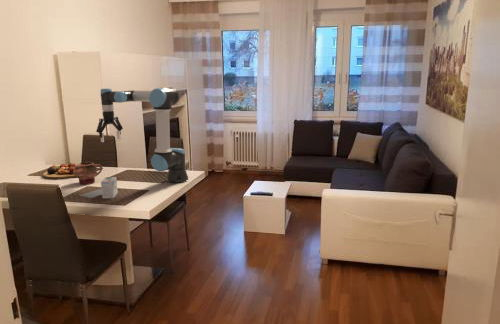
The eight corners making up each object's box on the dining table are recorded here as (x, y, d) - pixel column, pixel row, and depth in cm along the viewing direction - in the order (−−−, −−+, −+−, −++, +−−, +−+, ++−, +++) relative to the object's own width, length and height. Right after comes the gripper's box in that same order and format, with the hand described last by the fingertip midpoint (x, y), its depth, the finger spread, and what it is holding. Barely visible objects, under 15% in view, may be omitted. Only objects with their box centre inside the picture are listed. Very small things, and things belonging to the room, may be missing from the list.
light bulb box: (107, 193, 240) (105, 177, 238) (118, 193, 241) (116, 176, 238) (102, 198, 230) (100, 181, 227) (113, 198, 230) (112, 181, 228)
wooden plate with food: (93, 175, 286) (92, 164, 285) (45, 181, 269) (44, 170, 267) (84, 168, 312) (83, 158, 311) (40, 173, 295) (39, 163, 293)
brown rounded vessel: (98, 178, 278) (96, 159, 275) (107, 180, 270) (105, 161, 267) (71, 183, 263) (68, 164, 260) (79, 187, 255) (76, 166, 252)
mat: (114, 190, 246) (113, 190, 246) (90, 198, 230) (90, 198, 230) (102, 188, 251) (101, 188, 251) (78, 195, 235) (78, 195, 235)
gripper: (119, 109, 279) (122, 138, 284) (88, 112, 259) (92, 142, 264) (126, 109, 275) (128, 138, 280) (95, 112, 255) (98, 143, 259)
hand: (110, 140), depth 272 cm, fingers open, 13 cm apart
